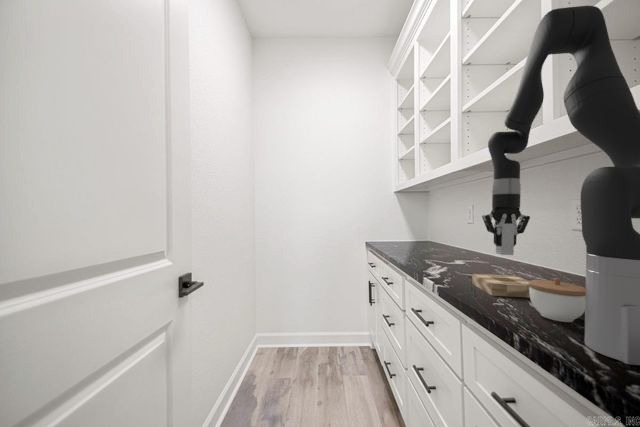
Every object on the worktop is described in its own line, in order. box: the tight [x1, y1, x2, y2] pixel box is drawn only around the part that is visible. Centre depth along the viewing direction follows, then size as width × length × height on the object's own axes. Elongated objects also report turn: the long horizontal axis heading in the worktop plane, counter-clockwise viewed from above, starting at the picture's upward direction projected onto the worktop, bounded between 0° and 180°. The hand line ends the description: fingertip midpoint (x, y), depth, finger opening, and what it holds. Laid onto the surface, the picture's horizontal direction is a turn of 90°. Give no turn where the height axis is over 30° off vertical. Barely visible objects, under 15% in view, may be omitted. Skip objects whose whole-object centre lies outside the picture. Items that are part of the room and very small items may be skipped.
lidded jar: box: [528, 277, 585, 323], centre depth 65 cm, size 11×11×9 cm
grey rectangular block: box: [495, 223, 515, 256], centre depth 88 cm, size 4×4×10 cm
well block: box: [471, 273, 530, 298], centre depth 88 cm, size 14×14×4 cm
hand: (504, 245), depth 88 cm, fingers closed on grey rectangular block, 3 cm apart
